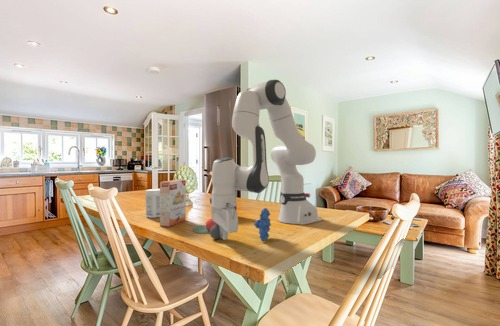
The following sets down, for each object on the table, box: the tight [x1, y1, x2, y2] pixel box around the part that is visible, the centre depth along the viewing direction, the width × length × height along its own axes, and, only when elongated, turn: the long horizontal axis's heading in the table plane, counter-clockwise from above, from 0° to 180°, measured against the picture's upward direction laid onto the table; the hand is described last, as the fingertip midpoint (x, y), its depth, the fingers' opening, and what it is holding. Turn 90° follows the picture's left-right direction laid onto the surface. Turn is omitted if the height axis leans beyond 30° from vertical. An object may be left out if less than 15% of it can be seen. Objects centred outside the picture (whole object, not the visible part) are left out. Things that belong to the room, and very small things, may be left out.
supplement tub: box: [145, 188, 160, 219], centre depth 137 cm, size 10×10×15 cm
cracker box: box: [159, 179, 187, 228], centre depth 122 cm, size 14×6×21 cm, turn 164°
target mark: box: [192, 224, 210, 235], centre depth 111 cm, size 14×14×1 cm
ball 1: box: [205, 218, 218, 231], centre depth 108 cm, size 6×6×6 cm
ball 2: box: [209, 225, 222, 240], centre depth 97 cm, size 6×6×6 cm
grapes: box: [253, 207, 272, 242], centre depth 96 cm, size 12×7×12 cm, turn 168°
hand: (224, 238), depth 93 cm, fingers closed
